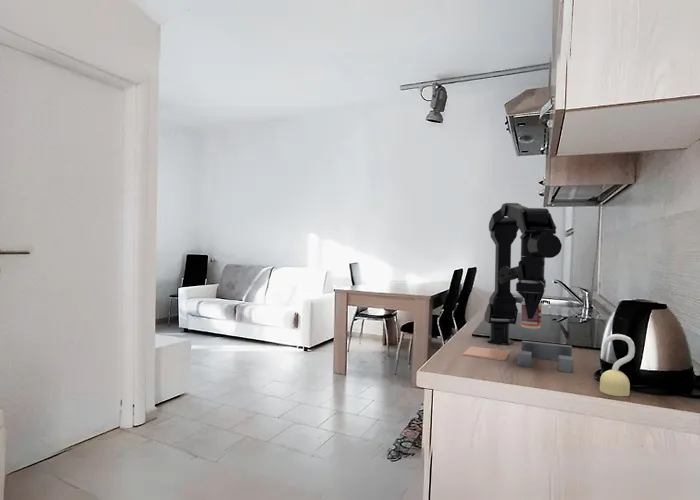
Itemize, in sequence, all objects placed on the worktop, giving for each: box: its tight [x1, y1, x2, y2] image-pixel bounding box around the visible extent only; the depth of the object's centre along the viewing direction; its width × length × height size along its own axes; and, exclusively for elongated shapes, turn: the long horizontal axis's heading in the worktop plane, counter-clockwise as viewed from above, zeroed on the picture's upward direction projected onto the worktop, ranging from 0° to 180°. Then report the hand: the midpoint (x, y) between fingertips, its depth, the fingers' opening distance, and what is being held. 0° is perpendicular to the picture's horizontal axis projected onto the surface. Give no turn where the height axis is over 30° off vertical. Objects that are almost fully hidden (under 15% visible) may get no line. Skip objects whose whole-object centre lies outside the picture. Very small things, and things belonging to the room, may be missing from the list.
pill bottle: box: [520, 297, 542, 330], centre depth 110 cm, size 5×5×8 cm
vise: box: [517, 340, 574, 373], centre depth 113 cm, size 17×12×4 cm
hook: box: [599, 333, 636, 397], centre depth 88 cm, size 6×5×12 cm
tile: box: [462, 345, 511, 362], centre depth 120 cm, size 11×11×1 cm
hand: (530, 317), depth 110 cm, fingers closed on pill bottle, 5 cm apart
